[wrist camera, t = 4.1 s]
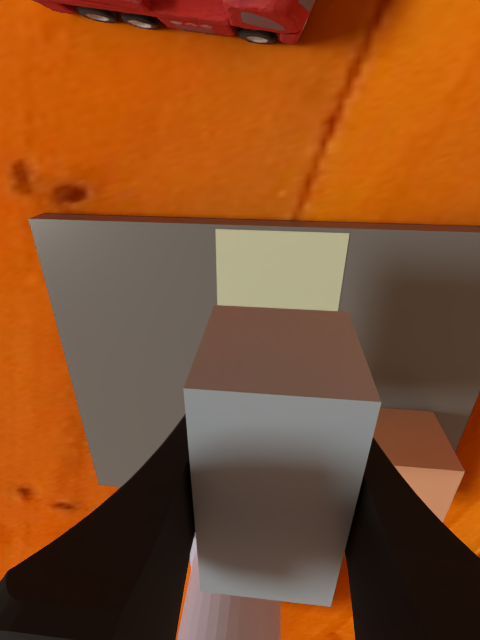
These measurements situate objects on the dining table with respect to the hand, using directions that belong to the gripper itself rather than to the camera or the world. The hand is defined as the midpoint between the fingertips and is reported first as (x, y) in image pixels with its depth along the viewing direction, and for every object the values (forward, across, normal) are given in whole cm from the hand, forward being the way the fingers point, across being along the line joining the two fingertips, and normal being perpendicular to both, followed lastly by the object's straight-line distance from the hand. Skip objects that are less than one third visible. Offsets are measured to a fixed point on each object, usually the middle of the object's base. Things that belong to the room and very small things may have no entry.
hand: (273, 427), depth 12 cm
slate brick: (+1, 0, 0) cm, 1 cm away
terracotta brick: (+7, -7, +9) cm, 13 cm away
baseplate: (+8, 0, +4) cm, 10 cm away
